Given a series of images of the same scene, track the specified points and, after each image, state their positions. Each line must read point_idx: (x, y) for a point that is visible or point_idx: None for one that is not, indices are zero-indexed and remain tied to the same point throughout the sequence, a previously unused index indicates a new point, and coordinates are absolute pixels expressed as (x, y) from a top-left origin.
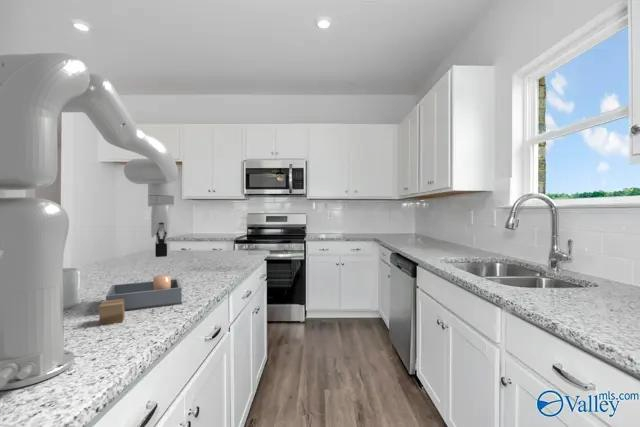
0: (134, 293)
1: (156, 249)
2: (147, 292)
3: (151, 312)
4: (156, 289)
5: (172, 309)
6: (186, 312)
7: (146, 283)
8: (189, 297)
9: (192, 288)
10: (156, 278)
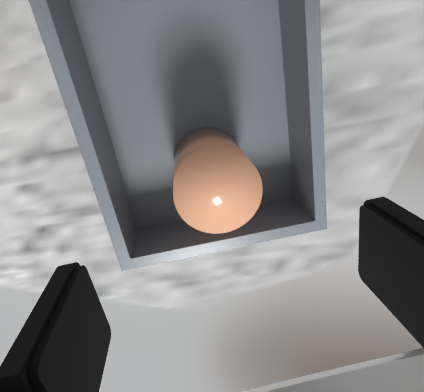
0: (55, 77)
1: (35, 323)
2: (78, 137)
3: (38, 151)
4: (178, 156)
5: (65, 216)
6: (22, 264)
7: (305, 83)
8: None
9: (349, 240)
10: (179, 173)
